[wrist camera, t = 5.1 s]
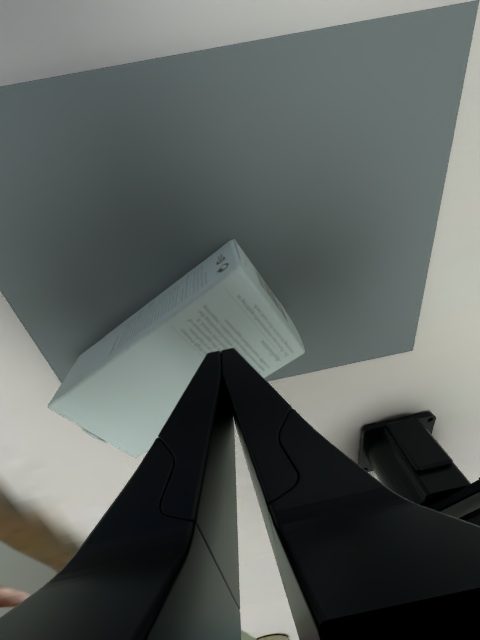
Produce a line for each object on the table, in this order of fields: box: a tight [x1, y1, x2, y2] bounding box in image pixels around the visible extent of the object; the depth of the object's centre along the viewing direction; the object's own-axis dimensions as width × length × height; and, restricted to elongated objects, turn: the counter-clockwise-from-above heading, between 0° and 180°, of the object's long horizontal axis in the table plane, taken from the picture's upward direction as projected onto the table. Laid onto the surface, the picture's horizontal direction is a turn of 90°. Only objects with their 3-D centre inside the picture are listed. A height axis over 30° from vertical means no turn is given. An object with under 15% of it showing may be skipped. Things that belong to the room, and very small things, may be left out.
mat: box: [0, 0, 479, 383], centre depth 16 cm, size 18×24×1 cm
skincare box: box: [48, 239, 305, 458], centre depth 16 cm, size 6×4×12 cm
